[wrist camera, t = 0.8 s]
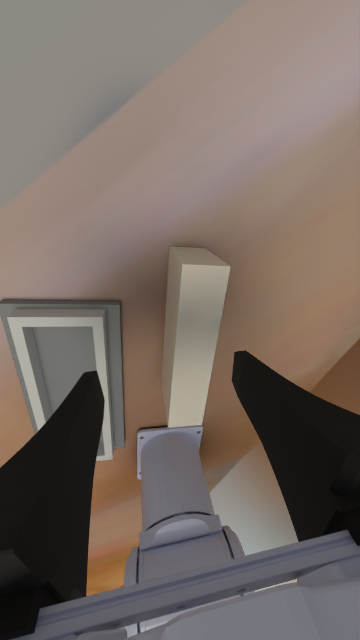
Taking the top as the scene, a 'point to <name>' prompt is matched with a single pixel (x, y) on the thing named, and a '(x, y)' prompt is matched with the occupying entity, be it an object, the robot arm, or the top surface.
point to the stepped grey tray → (67, 357)
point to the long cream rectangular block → (191, 331)
